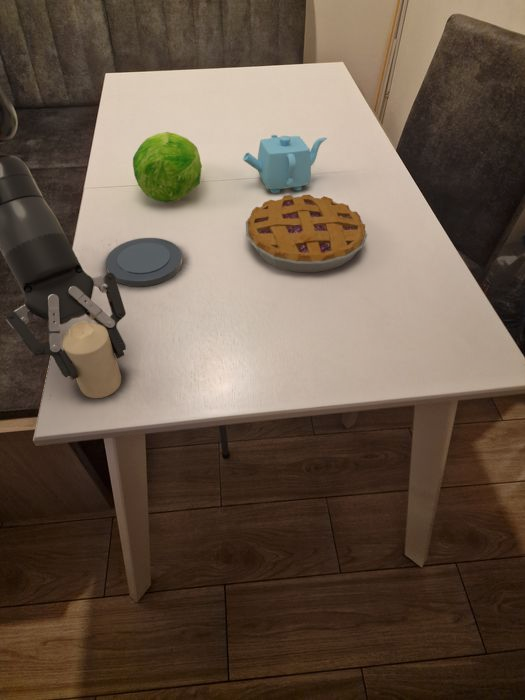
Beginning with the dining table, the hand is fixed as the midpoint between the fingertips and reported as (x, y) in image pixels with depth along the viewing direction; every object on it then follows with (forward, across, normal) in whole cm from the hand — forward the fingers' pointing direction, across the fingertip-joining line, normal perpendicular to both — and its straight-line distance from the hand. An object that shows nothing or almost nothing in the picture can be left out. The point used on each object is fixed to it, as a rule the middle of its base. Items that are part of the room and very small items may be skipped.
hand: (98, 366), depth 61 cm
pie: (-4, +44, +11) cm, 46 cm away
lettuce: (-27, +36, +34) cm, 57 cm away
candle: (+2, 0, +5) cm, 5 cm away
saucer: (-13, +18, +19) cm, 29 cm away
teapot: (-19, +56, +26) cm, 65 cm away
